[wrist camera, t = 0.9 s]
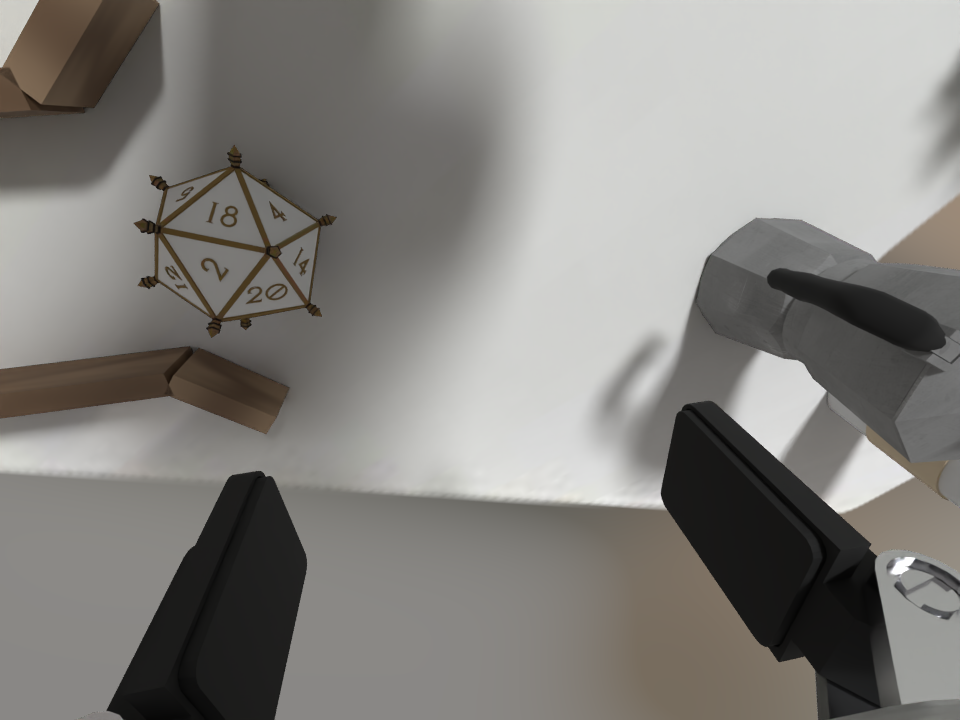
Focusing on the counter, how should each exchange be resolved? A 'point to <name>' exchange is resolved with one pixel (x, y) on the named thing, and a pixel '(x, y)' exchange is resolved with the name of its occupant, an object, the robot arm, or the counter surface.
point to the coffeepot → (847, 326)
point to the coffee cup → (942, 477)
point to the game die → (233, 246)
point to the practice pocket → (66, 90)
